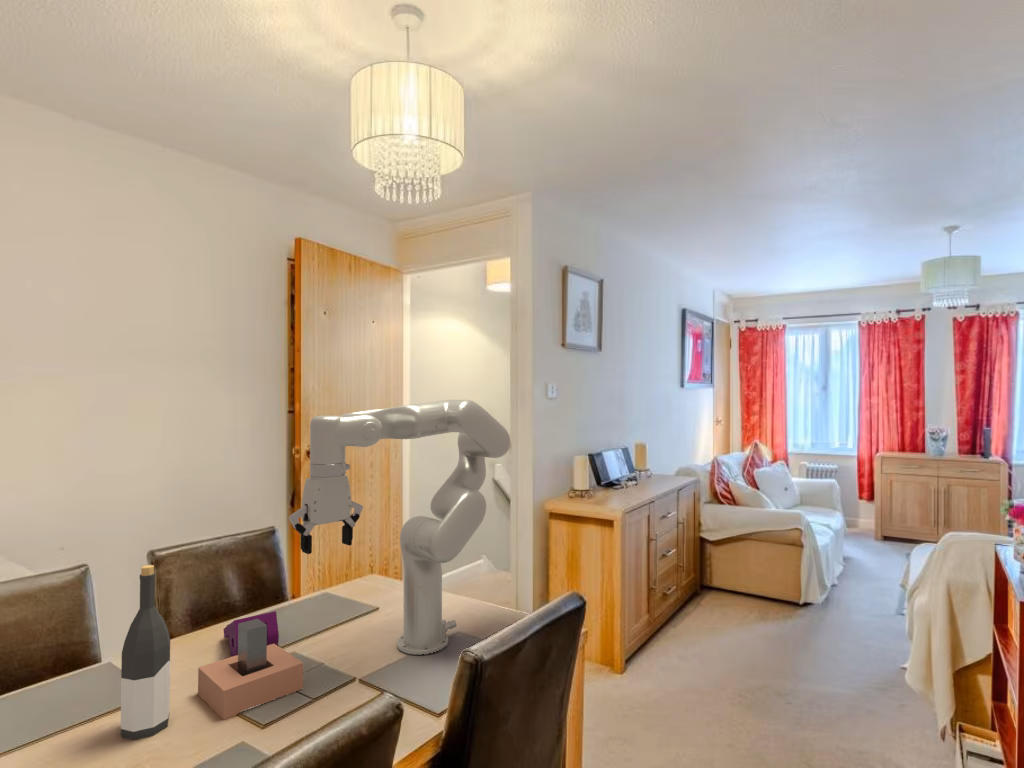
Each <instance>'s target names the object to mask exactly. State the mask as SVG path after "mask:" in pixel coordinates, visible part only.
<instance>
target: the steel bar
mask: <svg viewBox="0 0 1024 768" xmlns="http://www.w3.org/2000/svg"><path fill="white" fill-rule="evenodd" d="M266 668H267V625H266V624H265V623H263V622H262V621H260V620H259V619H254V620H250V621H246V622H243V623H239V624H238V673H239V674H240V675H241V676H245V675H248V674H251V673H254V672H257V671H260V670H263V669H266Z"/></svg>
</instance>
